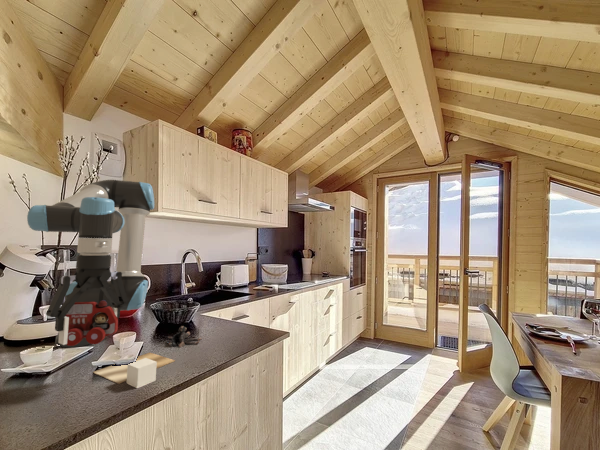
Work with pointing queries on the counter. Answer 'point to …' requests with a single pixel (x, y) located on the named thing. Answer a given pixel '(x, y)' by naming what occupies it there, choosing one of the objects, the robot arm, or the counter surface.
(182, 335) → the stuffed animal
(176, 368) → the counter surface
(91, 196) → the robot arm
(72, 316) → the toy fire truck
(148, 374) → the cream white cube
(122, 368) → the board
